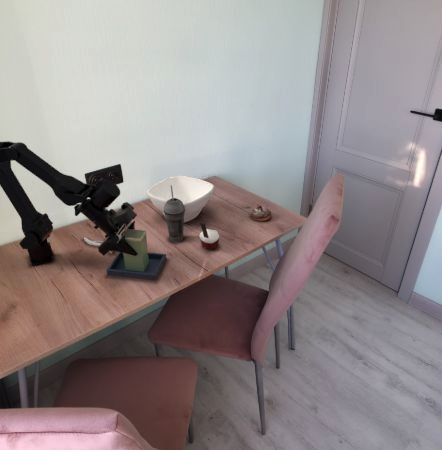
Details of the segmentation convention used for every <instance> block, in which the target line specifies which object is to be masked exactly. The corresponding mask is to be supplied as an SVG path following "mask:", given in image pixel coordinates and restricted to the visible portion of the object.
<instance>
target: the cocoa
mask: <svg viewBox="0 0 442 450" xmlns="http://www.w3.org/2000/svg"><path fill="white" fill-rule="evenodd" d="M200 228H201V231H200V233H199V239H200V243H201V246H202V247H203V248H204V249H205V250H214V249H216V248H217V247H218V245H219V241H220V235H219V233H218V231H217V230H214V229H211V228H207V227H206V224H205V223H202V222H200Z"/></svg>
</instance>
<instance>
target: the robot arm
mask: <svg viewBox="0 0 442 450" xmlns="http://www.w3.org/2000/svg"><path fill="white" fill-rule="evenodd" d="M12 161H15V163H17V164H19V165H20V166H21V167H23V168H24V169H26V170H27V171H28V172H30V173H31V174H32V175H34V176H35V177H37V179H39V180H40V181H42V182H43V183H45V184H46V185H47V186H49V187H50V188H51V189H52V192H53V194H54V196H55V197H56V198H58V200H60V201H61V202H62V204H64V205H66V206H68V207H73V206H74V207H73V209H74V216H76V217H78V216H79V215H80V214H82V215H83V216H84V217H86V218H87V219H88V220H89V221H90V222H92V223H93V224H94V226H93V228H94V229H95V230H98V229H100V231H102V232H103V233H104V234H105V235H104V240H102V241H103V242H100V243H101V244H100V246H97V250H98V253H99V254H101V255H102V256H104V257H105V256H106V254H108V253H110V252H109V251H114V252H118V253H119V252H122V253H126V254H130V255H133V256H136V255H137V254H138V253H137V252H136V251H135V250H134V249H133V248H132V247H131V246H130V245H129V244H128V243H127V242H126V240H125V236H123V237H121V236H122V235H123V233H124V232H125V230H126V229H135V230H136V228H135V223H136V220H135V219H136V217H137V216H138V214H137V213H136V212H135V211H134V210H135V207H134V206H133V205H132V204H131V203H129V202H128V201H125V202H123V203H122V204H121V206H120V208H119V209H118V210H117V211H116V210H114V209H112V208H110V209H108V208H109V207H110V206H111V205H112V204H113V203H114V202H115V201H116V200H117V199H118V197H120V195H121V189H120V188H119V186H118V185H117V184H116V183H115V182H113V181H110V180H105V179H104V178H103V177H102V178H100V179H98V181H97V182H96V184H90V183H85V182H83V181H81V180H79V179H78V178H76V177H75V176H72V175H68V174H65V173H62V172H61V171H59V170H58V169H57V168H55V167H54V166H52V165H51V164H50V163H49V162H47V161H46V160H45V159H43V158H41V157H40V156H39V155H38V154H36V153H35V152H34V151H33V150H31V149H30V148H28V146H27V145H26V143H24V142H21V141H20V142H19V141H18V142H13V141H10V140H9V141H8V140H7V141H0V187H1V189H2V190H3V192H4V194H5V195H6V197H7V198H8V200H9V202H10V203H11V205H12V206H13V208H14V210H15V211H16V214H17V215H18V216H19V217H20V222H21V230H22V233H23V235H24V237H23V238H22V239H21V240H20V242H19V246H20V247H21V249H22V250H27V254H28V257H29V260H30V265H31V266H36V265H40V264H45V263H49V262H53V260H54V259H53V257H54V252H53V249H52V244H51V242H50V241H48V239H49V238H50V237H51V234H52V233H53V230H54V226H53V225H54V222H52V219H50V217H49V215H48V214H47V213H46V212H44V213H41V212H39V211H38V210H37V209H36V207H35V205H34V204H33V203H32V201H31V200H30V198H29V196H28V194H27V193H26V190H25V188H24V187H23V185H22V184H21V182H20V181H19V178H18V177H17V175H16V174H15V172H14V171H13V169H12Z"/></svg>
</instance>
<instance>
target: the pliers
mask: <svg viewBox="0 0 442 450" xmlns="http://www.w3.org/2000/svg"><path fill="white" fill-rule="evenodd" d="M83 240H84V242H85V243H86V244H88V245H90V246H96V247H99V246H100V244H101V243H102V242H103V241H104V240H90V239H89V238H87V237H86V236H84V237H83ZM108 253H109V254H114V252H113V251H109V252H108Z"/></svg>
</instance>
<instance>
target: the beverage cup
mask: <svg viewBox="0 0 442 450" xmlns="http://www.w3.org/2000/svg"><path fill="white" fill-rule="evenodd" d="M171 194H172V198H171V199H169V200H168V201H167V202H166V203H165V205H164V214H165V216H164V217H165V220H166V226H167V231H168V232H167V233H168V237H169V240H170V241H171V242H175V243H176V242H181V241H182V240H183V239H184V228H185V227H184V226H185V225H184V224H185V222H184V213H185V207H184V204H183V203H182V201H181V200H179V199H177V198H173V190H172V185H171ZM164 214H163V215H164Z"/></svg>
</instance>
